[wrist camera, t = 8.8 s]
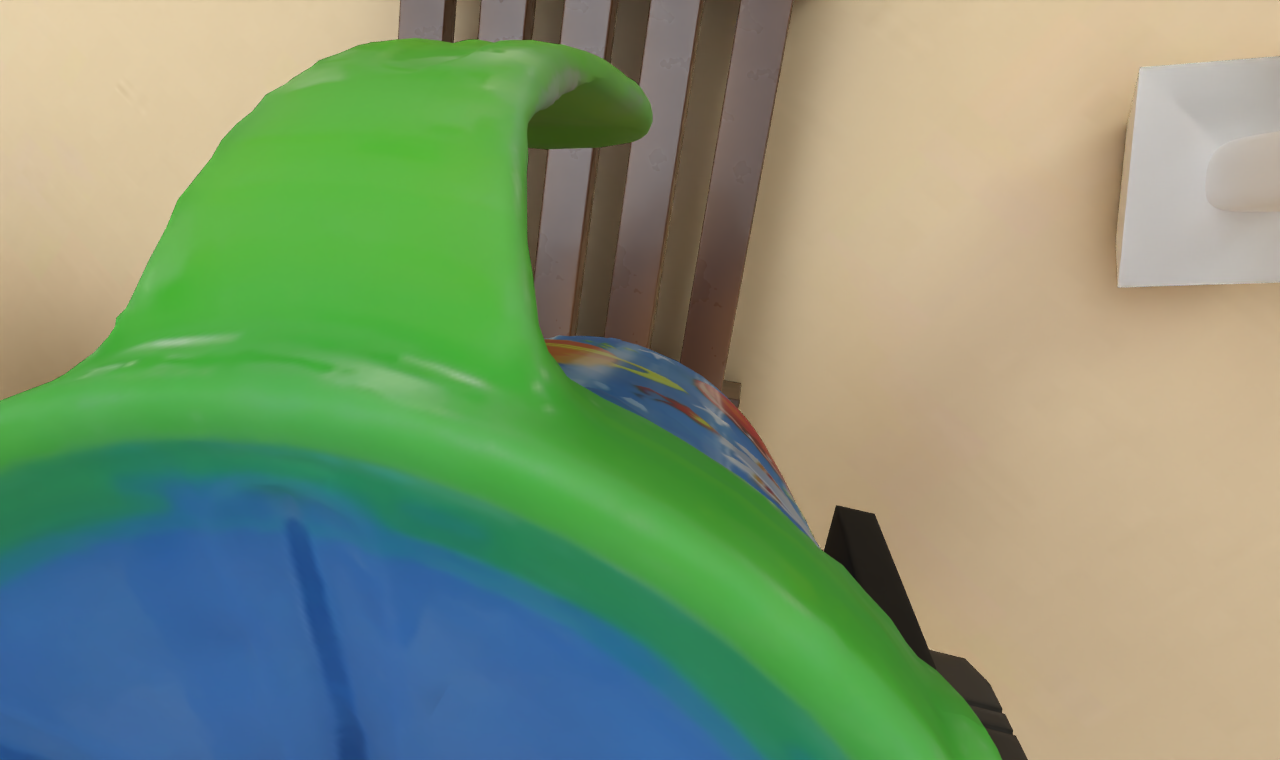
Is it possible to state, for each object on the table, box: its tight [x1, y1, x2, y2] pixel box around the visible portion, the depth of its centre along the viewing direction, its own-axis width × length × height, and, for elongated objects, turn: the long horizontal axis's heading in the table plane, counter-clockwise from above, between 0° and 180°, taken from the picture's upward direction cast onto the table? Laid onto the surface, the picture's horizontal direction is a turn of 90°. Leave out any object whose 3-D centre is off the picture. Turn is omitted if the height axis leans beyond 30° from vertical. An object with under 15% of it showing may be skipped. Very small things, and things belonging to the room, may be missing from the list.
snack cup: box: [0, 38, 1002, 760], centre depth 10 cm, size 16×10×10 cm
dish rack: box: [398, 0, 794, 409], centre depth 26 cm, size 16×20×10 cm
